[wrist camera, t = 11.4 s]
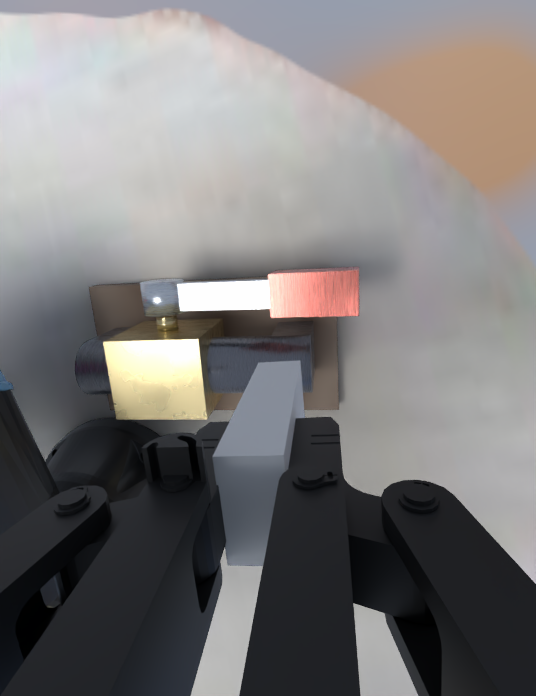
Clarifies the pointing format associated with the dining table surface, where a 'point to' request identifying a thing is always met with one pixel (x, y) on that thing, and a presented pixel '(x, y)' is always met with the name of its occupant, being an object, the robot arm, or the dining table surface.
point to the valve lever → (260, 294)
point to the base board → (227, 335)
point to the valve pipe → (184, 365)
